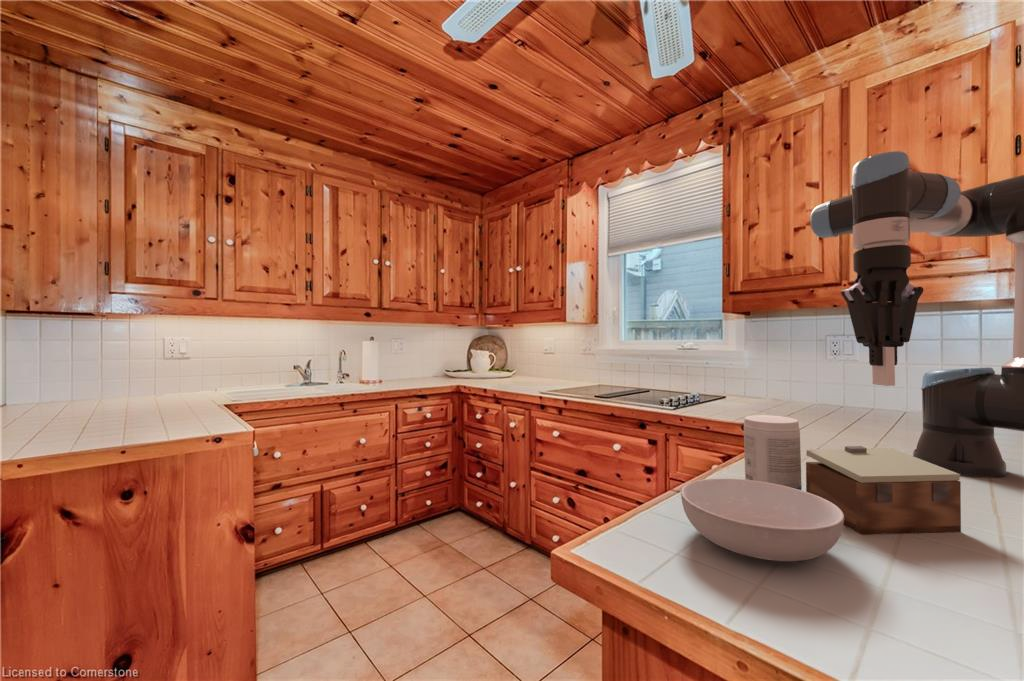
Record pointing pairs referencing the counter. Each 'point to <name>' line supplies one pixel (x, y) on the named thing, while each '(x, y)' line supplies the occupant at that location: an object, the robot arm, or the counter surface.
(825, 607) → the counter surface
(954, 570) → the counter surface
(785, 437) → the supplement tub
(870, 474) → the lid
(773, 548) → the serving bowl
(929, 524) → the keepsake box
